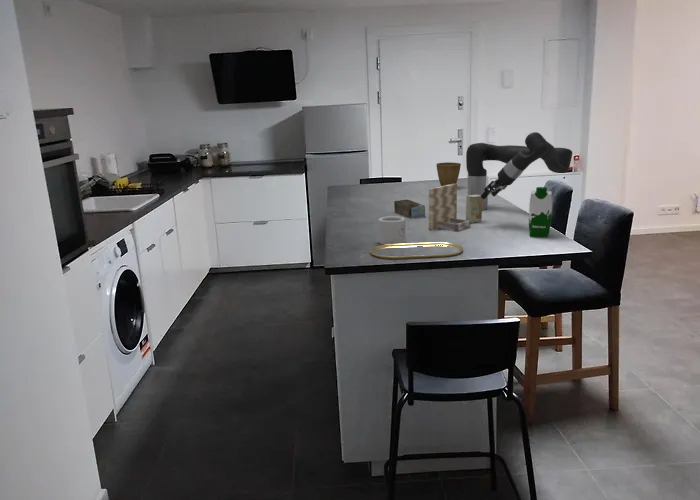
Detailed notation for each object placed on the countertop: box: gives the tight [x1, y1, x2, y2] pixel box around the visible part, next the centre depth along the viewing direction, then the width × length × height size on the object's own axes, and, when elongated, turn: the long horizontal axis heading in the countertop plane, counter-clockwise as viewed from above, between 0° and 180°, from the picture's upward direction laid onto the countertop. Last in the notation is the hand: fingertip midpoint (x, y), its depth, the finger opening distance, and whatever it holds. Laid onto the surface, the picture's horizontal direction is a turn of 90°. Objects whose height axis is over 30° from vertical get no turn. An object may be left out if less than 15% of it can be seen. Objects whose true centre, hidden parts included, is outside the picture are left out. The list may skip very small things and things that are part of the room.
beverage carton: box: [393, 199, 426, 219], centre depth 290 cm, size 8×19×7 cm, turn 21°
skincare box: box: [465, 194, 483, 224], centre depth 269 cm, size 6×4×12 cm
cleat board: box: [428, 183, 472, 232], centre depth 257 cm, size 18×12×18 cm
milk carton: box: [528, 186, 553, 238], centre depth 238 cm, size 9×9×20 cm
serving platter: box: [369, 241, 464, 260], centre depth 221 cm, size 19×35×2 cm, turn 93°
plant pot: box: [436, 162, 462, 186], centre depth 363 cm, size 15×15×16 cm
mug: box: [377, 215, 406, 245], centre depth 236 cm, size 14×11×10 cm
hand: (487, 196), depth 262 cm, fingers open, 8 cm apart
